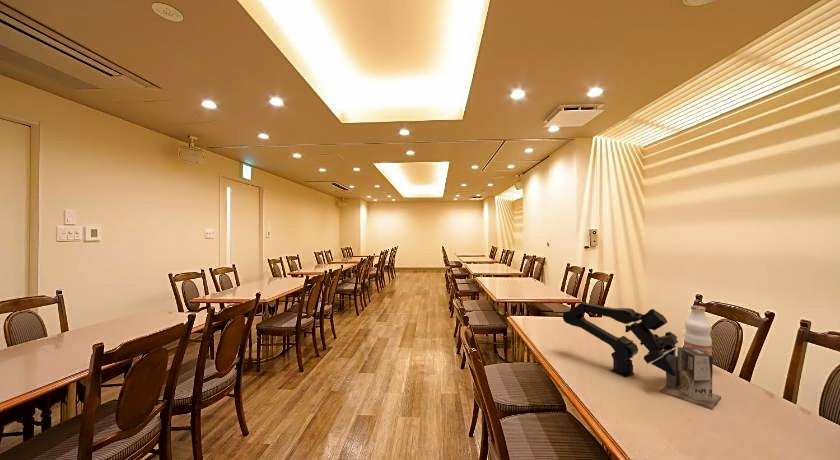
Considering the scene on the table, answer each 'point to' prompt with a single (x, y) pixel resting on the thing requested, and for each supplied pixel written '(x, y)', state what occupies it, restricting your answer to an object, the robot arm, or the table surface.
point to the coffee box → (694, 373)
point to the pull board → (675, 392)
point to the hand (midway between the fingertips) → (678, 372)
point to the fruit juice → (698, 331)
